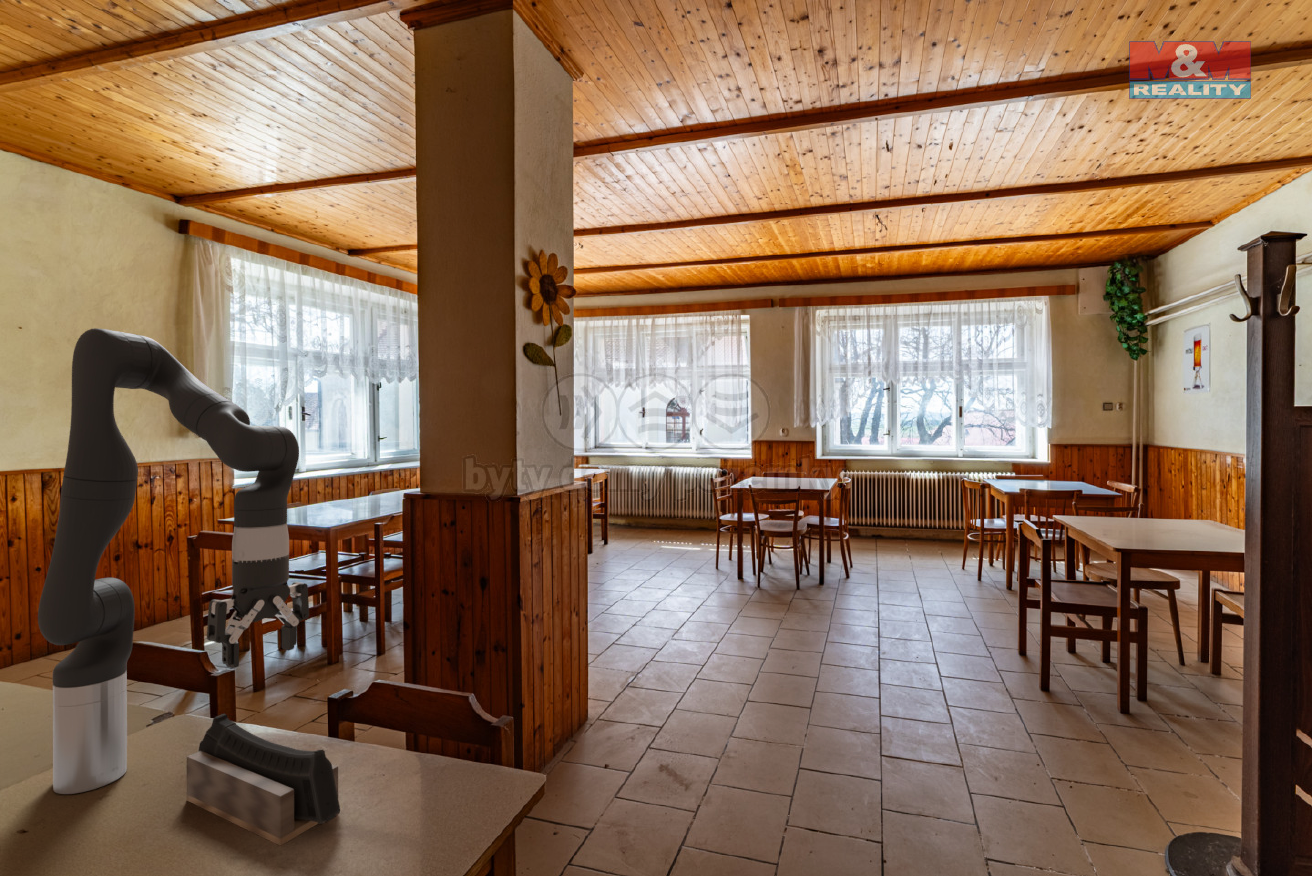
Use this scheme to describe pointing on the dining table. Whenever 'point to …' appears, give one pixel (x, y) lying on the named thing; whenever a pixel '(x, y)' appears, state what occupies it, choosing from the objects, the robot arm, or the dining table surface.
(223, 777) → the slot block
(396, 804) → the dining table surface
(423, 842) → the dining table surface
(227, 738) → the magazine
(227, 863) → the dining table surface
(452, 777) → the dining table surface
